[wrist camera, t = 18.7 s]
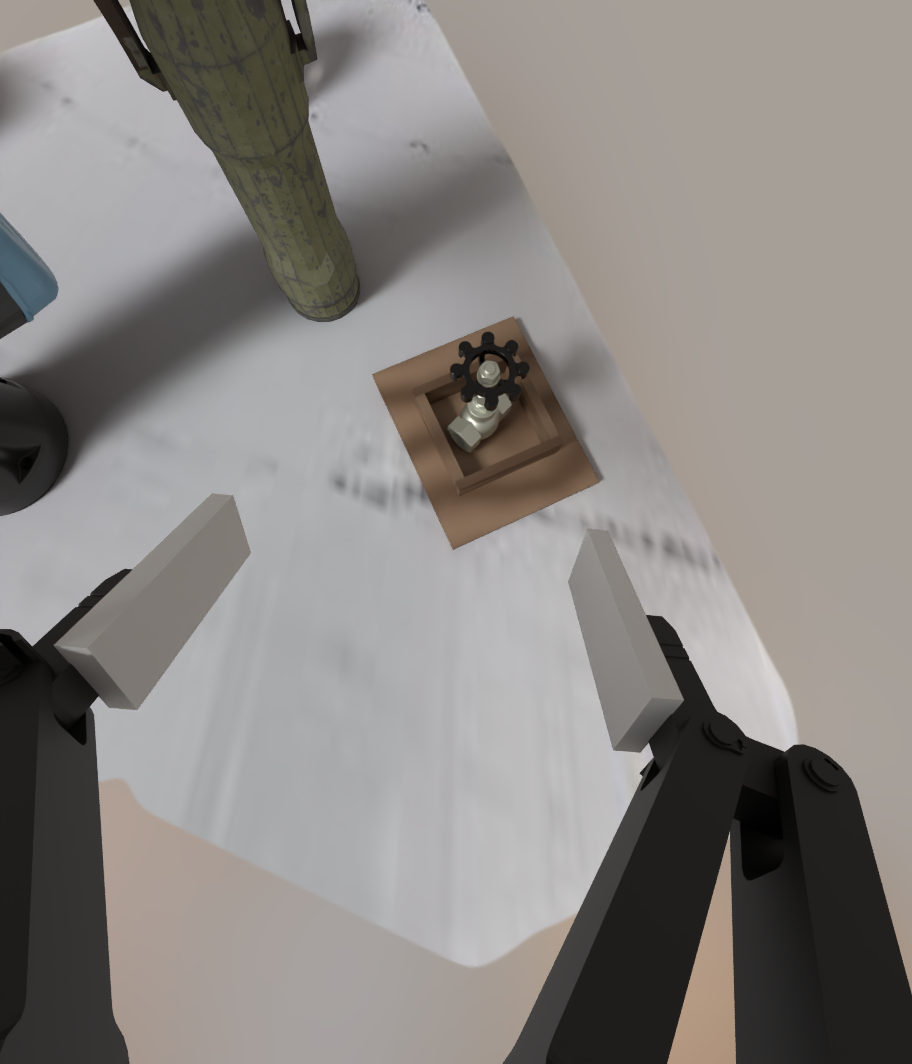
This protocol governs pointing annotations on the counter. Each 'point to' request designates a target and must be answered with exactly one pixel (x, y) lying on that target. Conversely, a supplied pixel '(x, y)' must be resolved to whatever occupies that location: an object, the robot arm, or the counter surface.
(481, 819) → the counter surface
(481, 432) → the valve
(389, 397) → the dock board
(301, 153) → the thermos
